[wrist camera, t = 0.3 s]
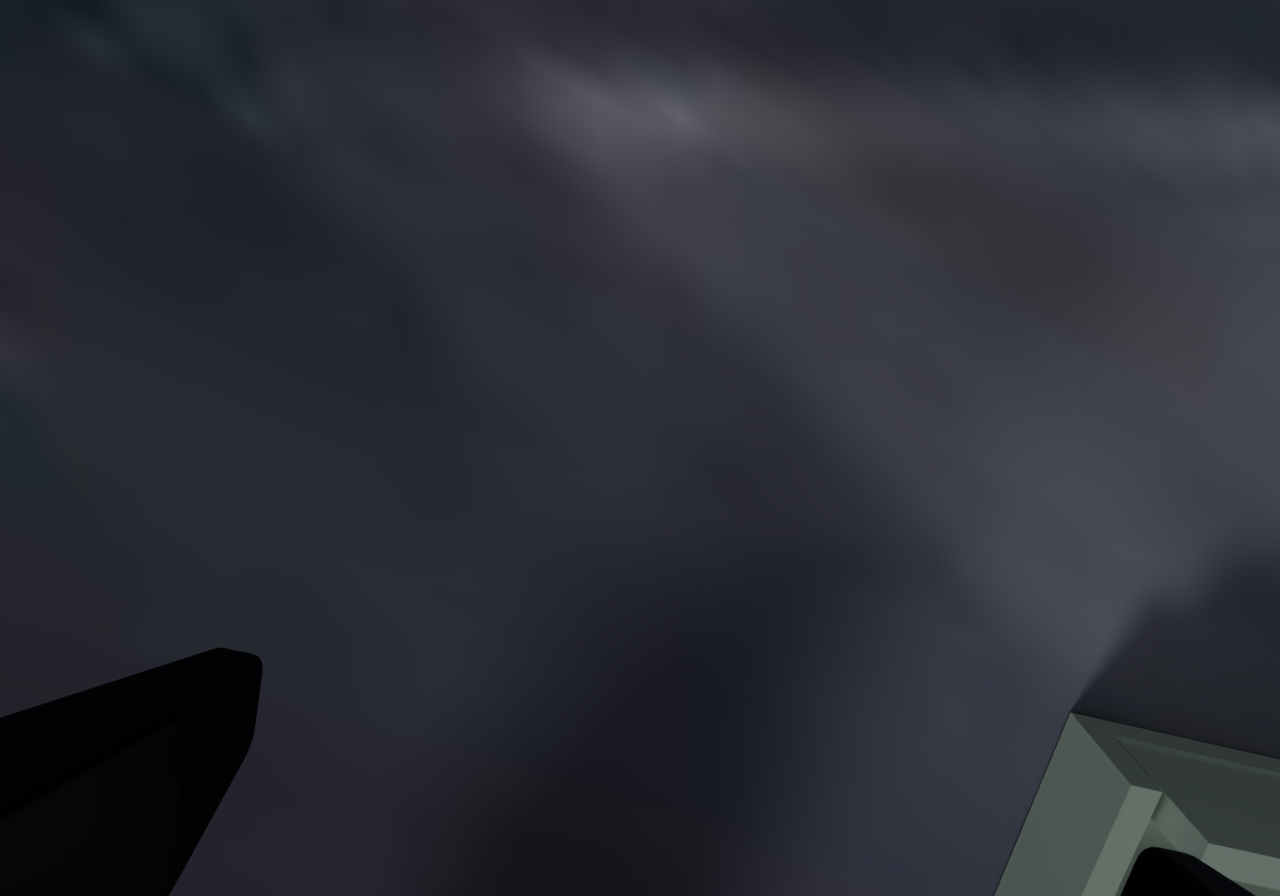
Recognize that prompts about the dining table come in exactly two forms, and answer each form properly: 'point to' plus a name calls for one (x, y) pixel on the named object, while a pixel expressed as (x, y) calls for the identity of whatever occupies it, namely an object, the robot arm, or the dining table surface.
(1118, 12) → the dining table surface
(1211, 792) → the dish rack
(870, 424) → the dining table surface
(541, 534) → the dining table surface
